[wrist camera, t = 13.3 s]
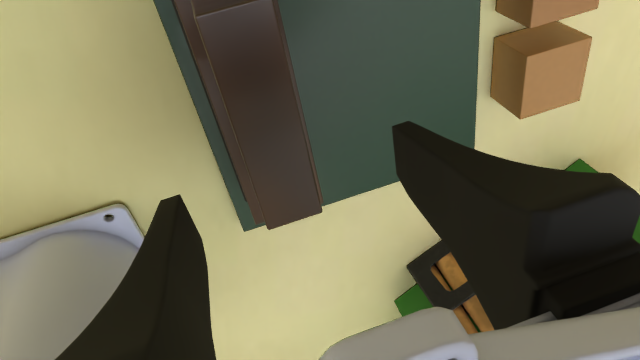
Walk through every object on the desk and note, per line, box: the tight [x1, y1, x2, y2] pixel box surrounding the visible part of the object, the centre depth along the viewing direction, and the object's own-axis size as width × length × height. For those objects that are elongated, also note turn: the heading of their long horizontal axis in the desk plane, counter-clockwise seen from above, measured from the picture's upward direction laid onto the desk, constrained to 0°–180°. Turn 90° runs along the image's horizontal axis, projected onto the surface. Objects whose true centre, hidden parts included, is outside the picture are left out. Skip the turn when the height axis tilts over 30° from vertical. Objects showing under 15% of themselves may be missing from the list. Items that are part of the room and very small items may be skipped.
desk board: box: [153, 0, 481, 232], centre depth 23 cm, size 15×20×1 cm
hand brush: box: [171, 0, 323, 230], centre depth 19 cm, size 4×14×7 cm, turn 10°
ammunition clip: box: [407, 240, 494, 334], centre depth 30 cm, size 11×2×12 cm, turn 126°
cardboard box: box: [491, 21, 592, 119], centre depth 26 cm, size 4×4×3 cm
